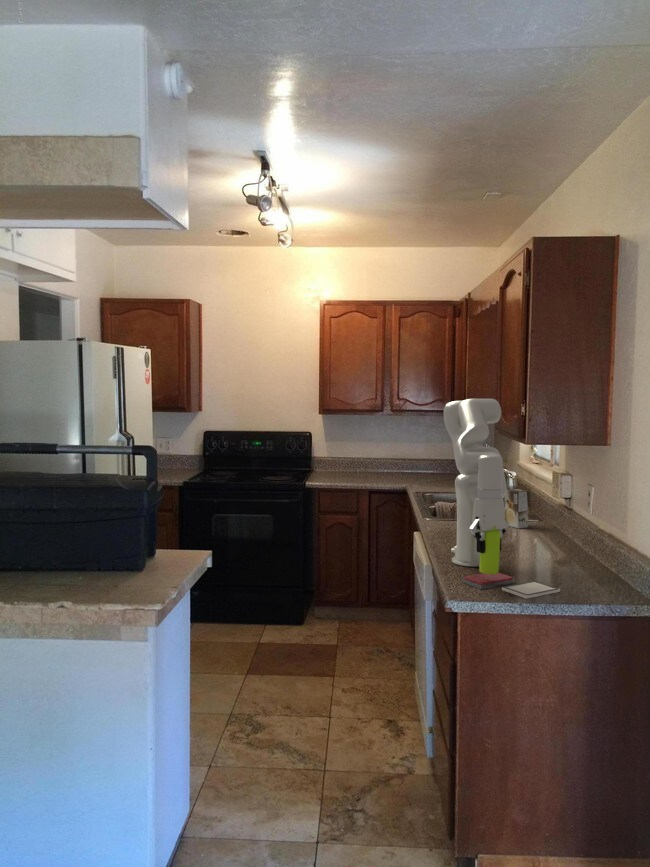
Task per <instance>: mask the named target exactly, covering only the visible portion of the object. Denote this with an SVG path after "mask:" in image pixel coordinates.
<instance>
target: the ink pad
mask: <svg viewBox="0 0 650 867" xmlns="http://www.w3.org/2000/svg"><path fill="white" fill-rule="evenodd" d="M461 583H462V584H465V585H468V586H470V587H474V588H476V589H479V590H485V589H490V588H495V587H496V588H497V587H503V586H508V585H514V584H516V579H515V578H513V576H510V575H507V574H504V573H501V572H499V573H498V574H484V573H479V574H472V575H466V576H463V577H462V578H461Z"/></svg>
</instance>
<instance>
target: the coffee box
mask: <svg viewBox="0 0 650 867" xmlns="http://www.w3.org/2000/svg"><path fill="white" fill-rule="evenodd" d="M529 502H530V491H529V490H525V489H519V488H506V495H505V497H504V508H505V521H506V522H507V523H508V524H509V527H512V528H515V529H523V528H529V512H530V511H529V510H530V509H529V507H530V506H529V504H530V503H529Z"/></svg>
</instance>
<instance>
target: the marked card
mask: <svg viewBox="0 0 650 867" xmlns="http://www.w3.org/2000/svg"><path fill="white" fill-rule="evenodd" d="M501 590H502V591H503V592H507V593H510V594H512V595H515V596H518V597H521V598H523V599H526V600H527V599H531V598H537V597H540V596H546V595H550V594H556V593H561V588H559V587H556V586H552V585H549V584H545V583H543V582H540V581H538V580H530V581H525V582H521V583H520V582H519V583H513V584H508V585H503V586H501Z"/></svg>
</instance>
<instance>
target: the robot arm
mask: <svg viewBox="0 0 650 867" xmlns="http://www.w3.org/2000/svg"><path fill="white" fill-rule="evenodd" d="M501 416H502V408H501V405H500V403H499V401H498V400H497V399H494V398H467V399H464V400H461V399H460V400H454V401H450V402H447V403H446V404H445V406H444V408H443V421H444V426H445V429H446V431H447V434H448V435H449V437H450V439H451V443H452V447H453V448H452V449H453V455H454V462H455V465H456V469H457V470H458V472H459V474H457V476H456V478H455V480H454V492H455V498H456V545H455V546H454V547H452V548H451V549H450V551H451V553H454V556H453V557H452V558H451V562H452V563H453V564H455V565H458V566H464V567H471V568H472V567H479V566H480V553H485V541H484V537H485V534H486V532H487V531H491V530H492V529H493V527H494V526H496V530H499V531H500V552H502V539H503V538H504V534H506V531H507V530H508V528H509V527H510V526H509V524H508V523H507V522H506V521H505V500H504V499H505V495H506V489H507V481H506V475H505V470H504V463H503V462H504V461H503V460H504V459H503V457H502V455H501V454H500V452H499V450H498V449H497V448H495V447H494V446H493V447H492V446H479V445H478V444H480V443H482V442H484V441H486V440H487V439H488V437H489V435H490V429H489V426H488V424H489V425H490V424H497V423H498V422H499V421H500V419H501ZM481 532H482V533H481Z"/></svg>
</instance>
